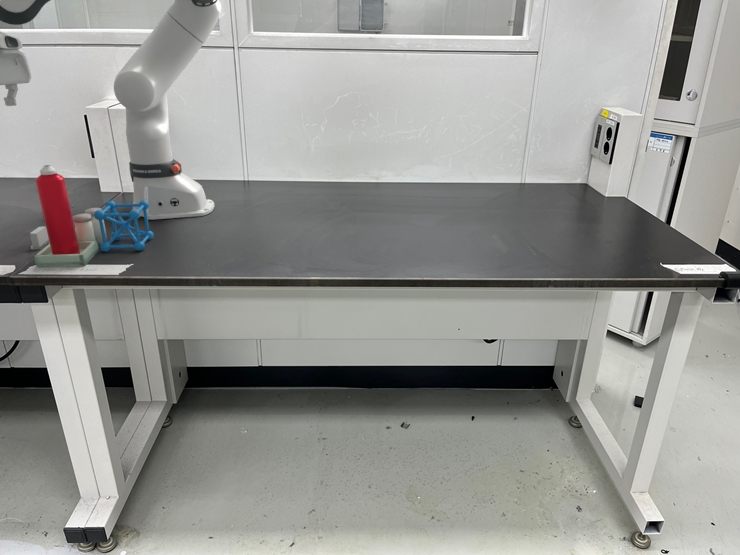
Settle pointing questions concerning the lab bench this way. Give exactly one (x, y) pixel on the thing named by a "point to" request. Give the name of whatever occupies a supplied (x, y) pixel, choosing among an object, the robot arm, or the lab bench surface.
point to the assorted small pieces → (86, 237)
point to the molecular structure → (124, 225)
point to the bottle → (57, 212)
